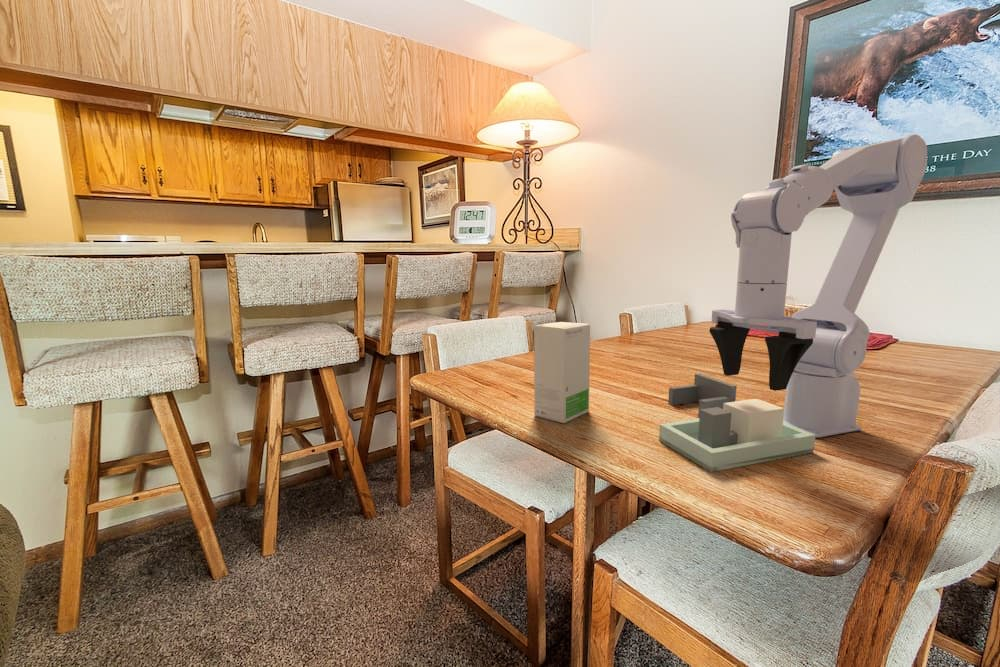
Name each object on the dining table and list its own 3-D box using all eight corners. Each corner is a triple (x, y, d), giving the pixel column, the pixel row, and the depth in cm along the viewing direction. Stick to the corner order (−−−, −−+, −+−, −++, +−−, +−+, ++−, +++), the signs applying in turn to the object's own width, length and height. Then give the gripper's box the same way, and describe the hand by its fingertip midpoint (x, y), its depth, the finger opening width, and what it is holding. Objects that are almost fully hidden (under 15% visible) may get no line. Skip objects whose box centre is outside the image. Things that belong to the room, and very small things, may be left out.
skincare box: (563, 425, 69) (564, 329, 67) (531, 415, 74) (530, 325, 71) (590, 411, 76) (592, 322, 73) (559, 403, 80) (560, 319, 77)
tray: (751, 425, 68) (752, 410, 67) (813, 452, 58) (815, 434, 58) (659, 440, 63) (659, 424, 63) (710, 472, 54) (712, 453, 53)
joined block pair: (753, 430, 64) (756, 398, 64) (780, 442, 60) (784, 408, 59) (692, 440, 61) (694, 407, 60) (716, 454, 57) (719, 418, 56)
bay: (697, 399, 81) (699, 373, 80) (734, 414, 73) (736, 385, 72) (668, 403, 79) (669, 376, 78) (702, 419, 71) (704, 389, 70)
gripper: (697, 281, 63) (691, 371, 66) (788, 287, 50) (778, 400, 52) (735, 279, 65) (729, 367, 68) (834, 284, 52) (821, 394, 54)
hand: (753, 381), depth 60 cm, fingers open, 7 cm apart
